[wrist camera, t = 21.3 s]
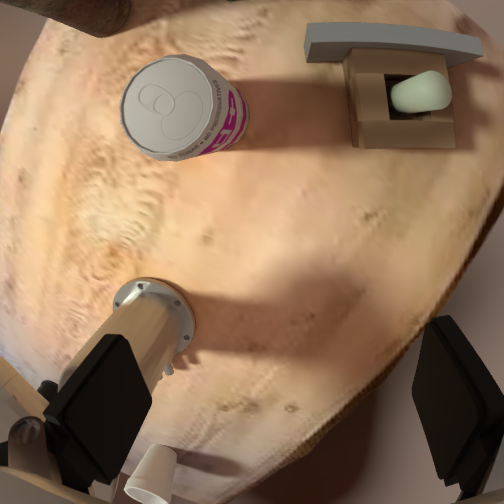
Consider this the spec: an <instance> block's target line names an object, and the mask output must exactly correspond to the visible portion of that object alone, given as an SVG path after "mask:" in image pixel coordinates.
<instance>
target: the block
mask: <svg viewBox="0 0 504 504" xmlns="http://www.w3.org/2000/svg"><path fill="white" fill-rule="evenodd" d="M342 64H343V71H344V77H345V84H346V91H347V98H348V106H349V114H350V123H351V132H352V143H353V147H358V148H364V149H373V148H453V149H456V142H455V128H454V116H453V107H452V99H451V102H450V104H449V105H448V106H447V107H446V108H444V109H439V110H431V111H423V112H416V113H409V114H402V115H393V114H391V113H389V110H388V102H387V94H386V89H387V88H388V87H391V86H393V85H395V84H398V83H400V82H402V81H405V80H407V79H409V78H412V77H414V76H417V75H419V74H421V73H424V72H427V71H436V72H438V73H440V74H442V75H443V76H444V77H445V78H446V79H447V81H448V82H449V77H448V71H447V65H446V60H445V55H444V54H442V53H434V52H426V51H416V50H405V49H391V48H367V47H352V48H351V49H350V51H349V52H348V54H347V55H346V56H345V58H344V59H343V60H342Z"/></svg>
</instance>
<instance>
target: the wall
mask: <svg viewBox="0 0 504 504" xmlns="http://www.w3.org/2000/svg"><path fill="white" fill-rule="evenodd" d="M352 47H367V48H391V49H405V50H416V51H426V52H434V53H442V54H444V55H445V60H446V65H447V67H453V66H456V65H458V64H461V63H464V62H467V61H470V60H473V59H476V58H479V57H482V56H484V54H483V49H482V44H481V40H480V38H477V37H473V36H468V35H463V34H459V33H453V32H448V31H442V30H436V29H430V28H423V27H415V26H406V25H395V24H382V23H361V22H324V23H308V24H307V30H306V37H305V43H304V51H305V57H306V63H310V62H332V61H342V60H343V59H344V58H345V56H346V55H347V54H348V52H349V51H350V49H351V48H352Z"/></svg>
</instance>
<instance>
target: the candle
mask: <svg viewBox="0 0 504 504" xmlns="http://www.w3.org/2000/svg"><path fill="white" fill-rule="evenodd" d="M0 2H1V3H5V4H8V5H12V6H15V7H18V8H22V9H24V10H27V11H30V12H33V13H37V14H39V15H42V16H45V17H48V18H51V19H53V20H56V21H58V22H61V23H63V24H66V25H68V26H70V27H73V28H75V29H78V30H80V31H82V32H85V33H87V34H90V35H92V36H95V37H98V38H103V37H105V36H107V35H109V34H111V33H113V32H115V31H116V30H118V29H119V28H120V27H121V26H122V25H123V24H124V22H125V20H126V18H127V16H128V13H129V8H130V0H0Z"/></svg>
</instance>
